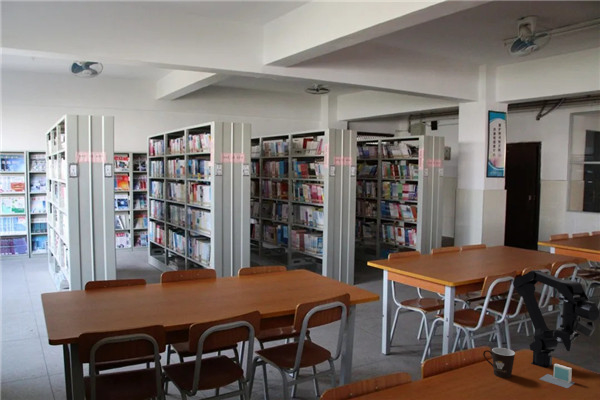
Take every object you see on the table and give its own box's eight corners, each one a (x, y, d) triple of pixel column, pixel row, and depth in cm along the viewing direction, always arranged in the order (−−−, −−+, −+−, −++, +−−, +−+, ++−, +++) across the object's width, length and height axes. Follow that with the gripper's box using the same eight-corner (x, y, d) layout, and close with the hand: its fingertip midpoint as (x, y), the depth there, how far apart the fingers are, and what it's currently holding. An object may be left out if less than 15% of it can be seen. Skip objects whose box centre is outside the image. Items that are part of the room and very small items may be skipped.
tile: (553, 378, 190) (553, 364, 190) (554, 376, 191) (555, 363, 191) (569, 383, 185) (570, 369, 185) (571, 381, 187) (571, 368, 186)
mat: (539, 380, 189) (539, 379, 189) (547, 374, 194) (547, 373, 194) (567, 389, 181) (567, 388, 181) (575, 383, 186) (575, 382, 186)
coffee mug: (518, 378, 190) (519, 354, 189) (502, 381, 187) (503, 356, 186) (496, 367, 201) (497, 344, 200) (480, 370, 197) (481, 346, 197)
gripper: (584, 322, 179) (582, 363, 179) (600, 313, 191) (598, 351, 192) (553, 315, 187) (551, 354, 188) (570, 307, 199) (568, 343, 200)
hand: (568, 351), depth 192 cm, fingers closed
